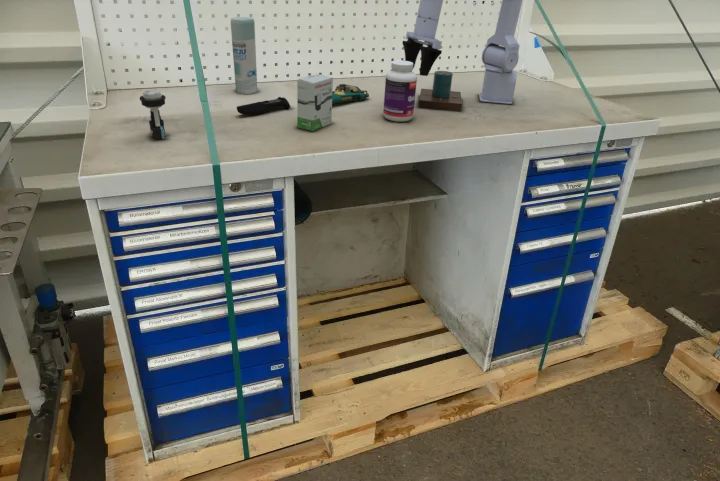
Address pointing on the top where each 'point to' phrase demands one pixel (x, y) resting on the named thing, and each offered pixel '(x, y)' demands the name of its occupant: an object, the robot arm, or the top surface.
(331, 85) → the ink box
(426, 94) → the stand
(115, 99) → the top surface
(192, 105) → the top surface
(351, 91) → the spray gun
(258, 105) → the electric trimmer
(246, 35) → the spray paint can
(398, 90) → the pill bottle
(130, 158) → the top surface
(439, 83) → the jar
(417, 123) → the top surface
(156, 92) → the push button
